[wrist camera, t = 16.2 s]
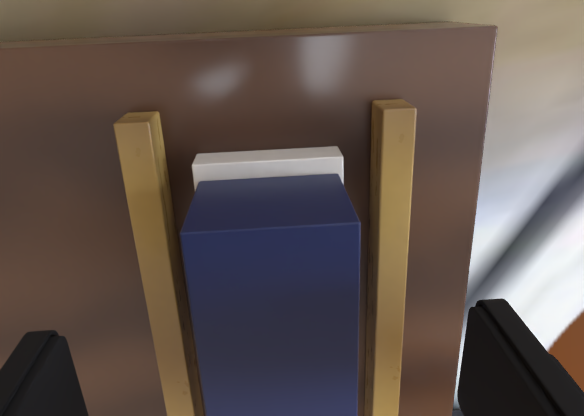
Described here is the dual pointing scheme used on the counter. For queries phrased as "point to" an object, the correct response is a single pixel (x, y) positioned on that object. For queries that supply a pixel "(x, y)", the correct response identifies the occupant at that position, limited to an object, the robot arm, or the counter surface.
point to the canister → (457, 413)
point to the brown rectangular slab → (232, 138)
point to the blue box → (274, 282)
